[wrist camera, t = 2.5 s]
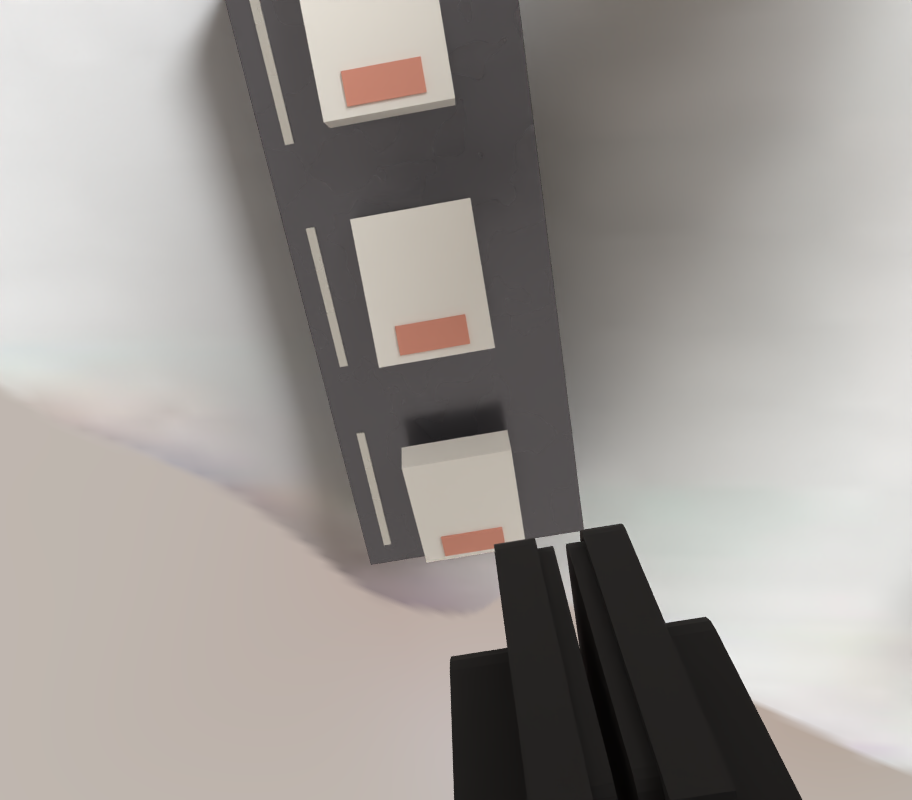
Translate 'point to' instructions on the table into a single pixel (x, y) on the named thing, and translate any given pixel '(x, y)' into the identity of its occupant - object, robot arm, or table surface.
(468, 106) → the power strip
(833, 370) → the table surface
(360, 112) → the block
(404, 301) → the plate
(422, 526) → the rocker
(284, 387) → the table surface
